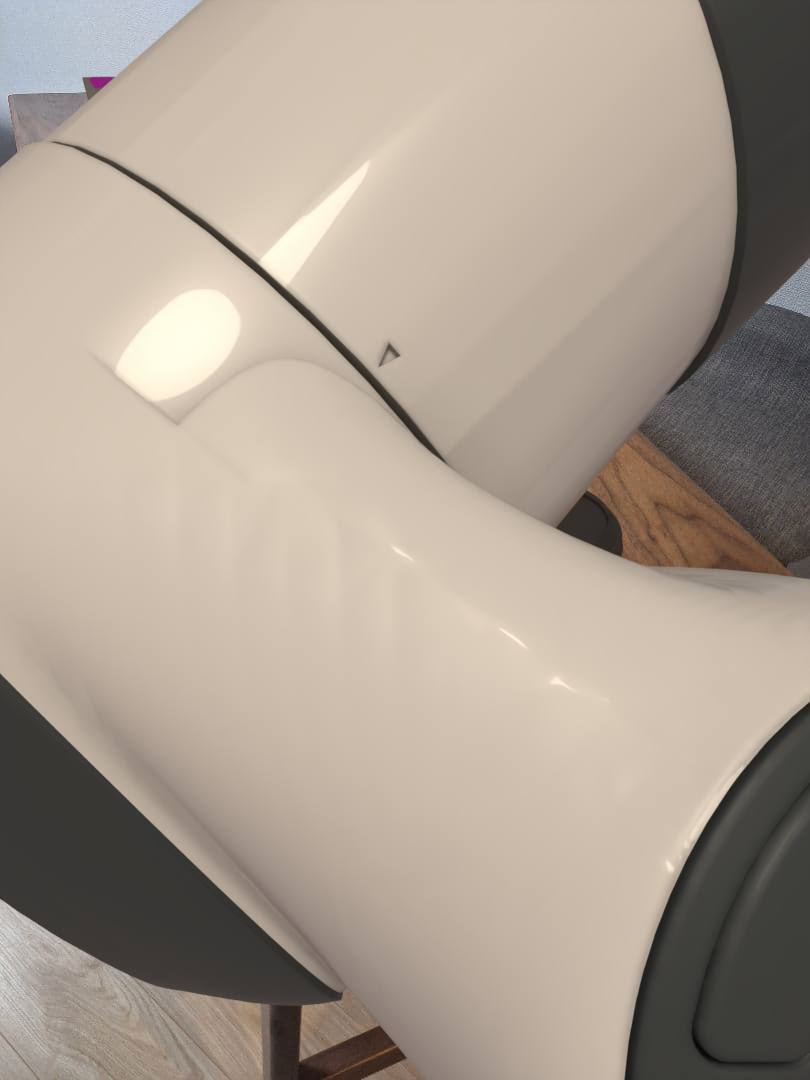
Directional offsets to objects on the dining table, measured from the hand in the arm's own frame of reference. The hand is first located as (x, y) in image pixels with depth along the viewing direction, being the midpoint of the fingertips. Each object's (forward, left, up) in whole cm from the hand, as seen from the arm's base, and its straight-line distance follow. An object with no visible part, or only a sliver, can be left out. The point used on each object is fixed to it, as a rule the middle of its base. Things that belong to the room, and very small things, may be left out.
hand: (345, 696), depth 37 cm
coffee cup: (+21, +20, -26) cm, 39 cm away
